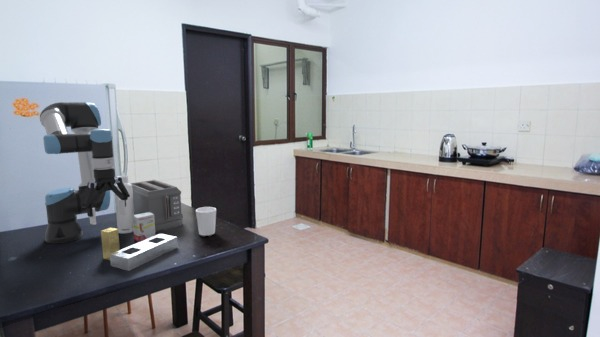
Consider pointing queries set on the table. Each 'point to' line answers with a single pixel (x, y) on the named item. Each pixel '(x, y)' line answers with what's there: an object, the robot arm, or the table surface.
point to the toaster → (158, 202)
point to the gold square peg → (109, 242)
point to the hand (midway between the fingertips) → (108, 219)
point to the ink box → (143, 226)
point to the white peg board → (143, 251)
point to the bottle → (126, 220)
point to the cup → (206, 220)
